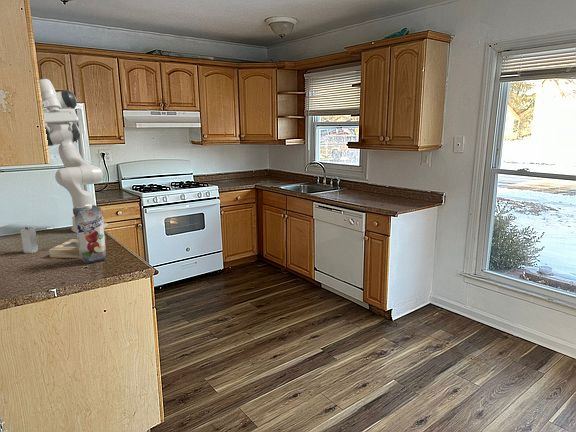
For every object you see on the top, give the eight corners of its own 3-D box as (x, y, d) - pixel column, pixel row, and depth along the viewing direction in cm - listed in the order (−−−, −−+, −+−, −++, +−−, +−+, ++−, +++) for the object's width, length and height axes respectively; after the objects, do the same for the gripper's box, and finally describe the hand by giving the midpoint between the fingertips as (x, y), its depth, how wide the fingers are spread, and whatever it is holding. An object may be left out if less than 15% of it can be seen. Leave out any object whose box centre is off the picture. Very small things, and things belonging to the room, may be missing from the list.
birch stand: (71, 246, 212) (69, 232, 210) (101, 246, 211) (99, 232, 209) (50, 257, 194) (47, 241, 192) (82, 257, 193) (79, 241, 191)
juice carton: (79, 260, 189) (71, 204, 183) (102, 256, 195) (96, 201, 190) (84, 265, 182) (76, 207, 176) (108, 260, 189) (101, 204, 183)
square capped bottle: (30, 250, 206) (26, 225, 203) (38, 250, 206) (34, 225, 203) (23, 252, 202) (19, 227, 199) (32, 253, 201) (28, 228, 199)
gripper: (72, 110, 213) (81, 133, 211) (28, 111, 199) (37, 136, 197) (74, 103, 209) (83, 126, 207) (30, 104, 195) (39, 129, 193)
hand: (60, 131), depth 202 cm, fingers open, 8 cm apart
